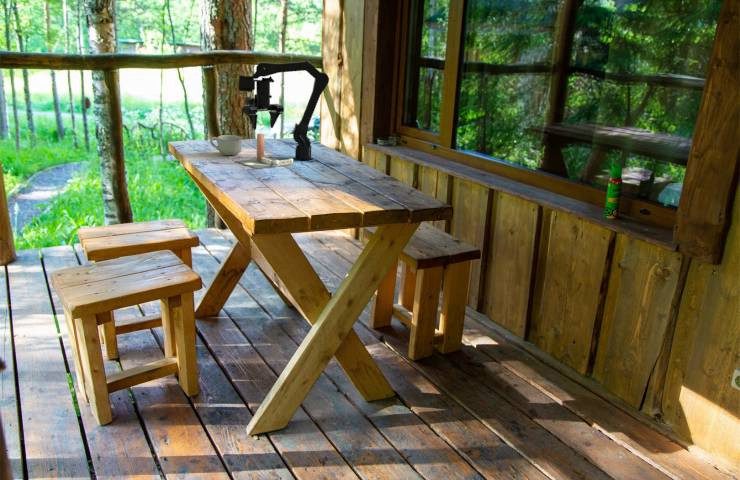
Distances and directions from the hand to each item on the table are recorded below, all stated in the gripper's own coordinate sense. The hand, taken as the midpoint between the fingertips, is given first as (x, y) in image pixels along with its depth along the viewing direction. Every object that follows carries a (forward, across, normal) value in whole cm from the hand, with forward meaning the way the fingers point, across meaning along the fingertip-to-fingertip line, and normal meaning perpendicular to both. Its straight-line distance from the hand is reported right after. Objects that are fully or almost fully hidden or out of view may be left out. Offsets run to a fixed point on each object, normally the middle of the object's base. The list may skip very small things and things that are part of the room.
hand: (263, 128), depth 263 cm
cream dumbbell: (+12, +3, +18) cm, 22 cm away
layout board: (+12, +8, +10) cm, 18 cm away
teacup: (+13, +10, -14) cm, 22 cm away
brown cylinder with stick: (+11, +8, +13) cm, 19 cm away
